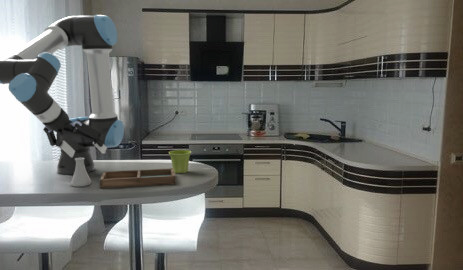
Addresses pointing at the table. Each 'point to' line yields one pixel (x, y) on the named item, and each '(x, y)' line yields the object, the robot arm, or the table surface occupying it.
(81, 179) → the flask
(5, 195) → the table surface
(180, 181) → the table surface
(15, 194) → the table surface
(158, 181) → the walnut caddy
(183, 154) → the plant pot
